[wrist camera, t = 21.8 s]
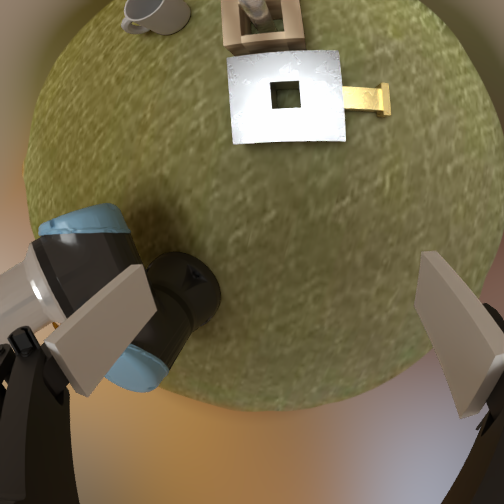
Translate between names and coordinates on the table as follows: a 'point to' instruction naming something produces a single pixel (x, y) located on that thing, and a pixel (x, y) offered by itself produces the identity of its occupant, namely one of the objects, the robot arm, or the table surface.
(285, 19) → the rack
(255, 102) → the socket block
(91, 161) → the table surface
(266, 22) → the round-ended peg
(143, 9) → the cup
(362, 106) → the brass square peg
